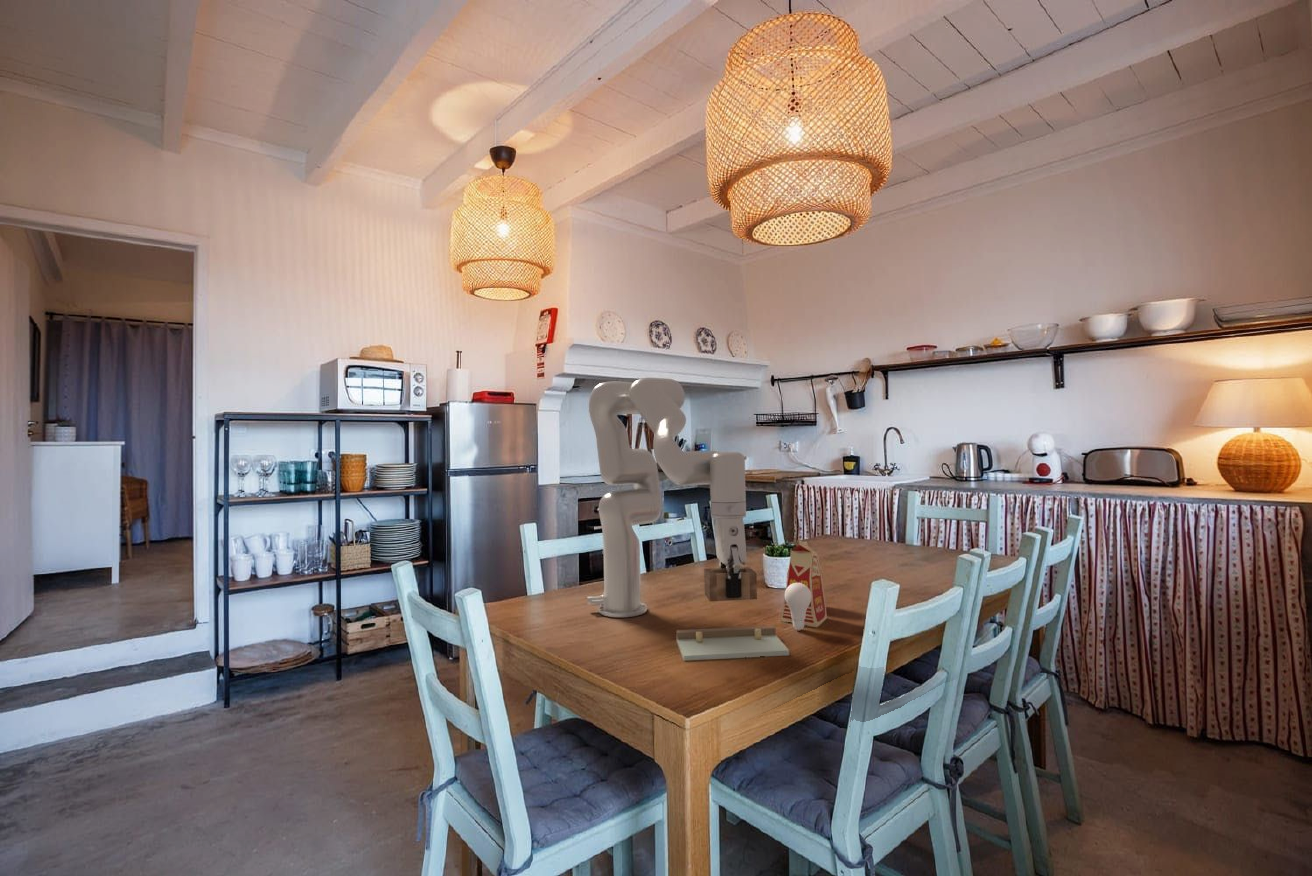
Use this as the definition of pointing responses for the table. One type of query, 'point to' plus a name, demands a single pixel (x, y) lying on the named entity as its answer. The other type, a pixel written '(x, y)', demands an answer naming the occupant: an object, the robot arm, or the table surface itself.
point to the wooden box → (717, 584)
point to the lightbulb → (798, 603)
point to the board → (729, 643)
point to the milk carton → (809, 574)
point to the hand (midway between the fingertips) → (730, 592)
